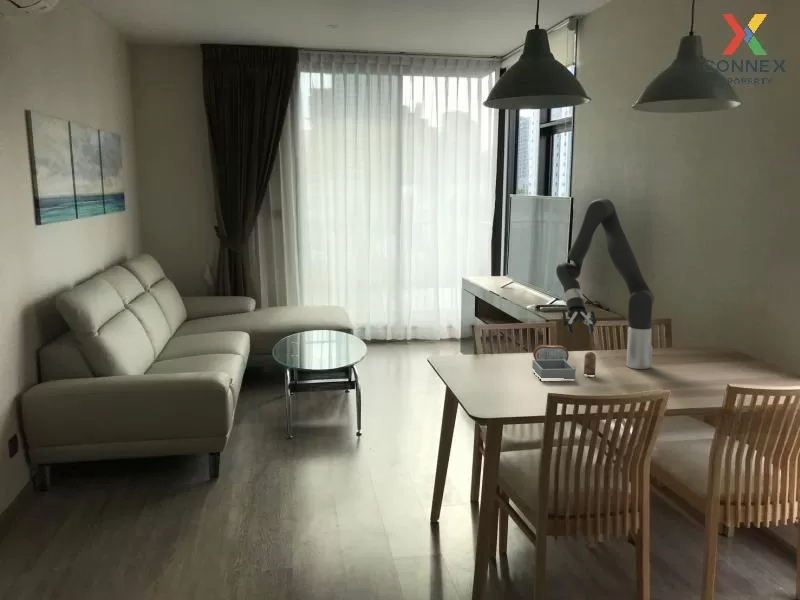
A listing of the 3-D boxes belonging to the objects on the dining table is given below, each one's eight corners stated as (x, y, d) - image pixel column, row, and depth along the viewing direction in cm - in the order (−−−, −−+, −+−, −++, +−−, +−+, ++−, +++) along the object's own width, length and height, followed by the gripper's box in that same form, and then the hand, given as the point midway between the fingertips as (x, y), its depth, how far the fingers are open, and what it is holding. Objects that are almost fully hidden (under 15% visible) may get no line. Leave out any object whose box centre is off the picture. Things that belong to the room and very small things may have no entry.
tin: (567, 363, 278) (568, 344, 276) (568, 365, 275) (569, 346, 273) (532, 362, 279) (533, 344, 278) (533, 364, 276) (534, 345, 275)
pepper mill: (592, 374, 261) (594, 350, 259) (596, 377, 257) (597, 353, 255) (582, 374, 261) (583, 350, 259) (585, 377, 257) (586, 353, 255)
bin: (564, 371, 266) (564, 359, 265) (574, 381, 252) (575, 369, 251) (532, 371, 265) (532, 359, 265) (540, 381, 251) (541, 369, 250)
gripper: (561, 296, 273) (567, 328, 264) (593, 296, 274) (600, 328, 265) (556, 305, 279) (562, 337, 270) (588, 306, 280) (595, 337, 271)
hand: (581, 333), depth 268 cm, fingers open, 8 cm apart
